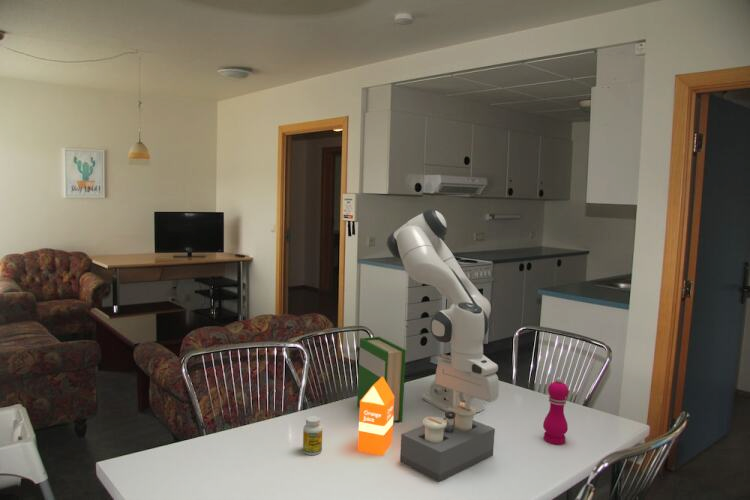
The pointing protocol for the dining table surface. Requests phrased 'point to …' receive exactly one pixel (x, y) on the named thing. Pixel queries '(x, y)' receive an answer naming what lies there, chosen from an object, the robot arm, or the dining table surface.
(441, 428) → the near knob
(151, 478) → the dining table surface
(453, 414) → the small glass shaker
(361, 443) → the orange juice
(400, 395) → the hardback book
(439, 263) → the robot arm
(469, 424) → the cream lidded cup
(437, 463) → the mount
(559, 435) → the pepper mill
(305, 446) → the supplement bottle
